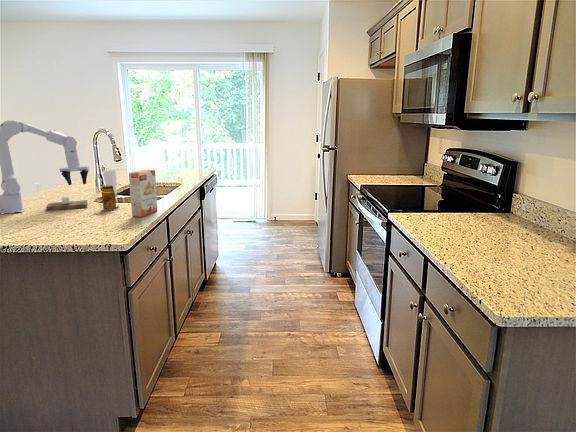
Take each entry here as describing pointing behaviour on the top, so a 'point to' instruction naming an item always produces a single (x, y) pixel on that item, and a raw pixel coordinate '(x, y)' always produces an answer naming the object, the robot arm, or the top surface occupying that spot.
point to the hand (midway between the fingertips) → (77, 184)
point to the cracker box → (143, 192)
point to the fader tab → (65, 199)
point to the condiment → (108, 198)
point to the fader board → (67, 205)
